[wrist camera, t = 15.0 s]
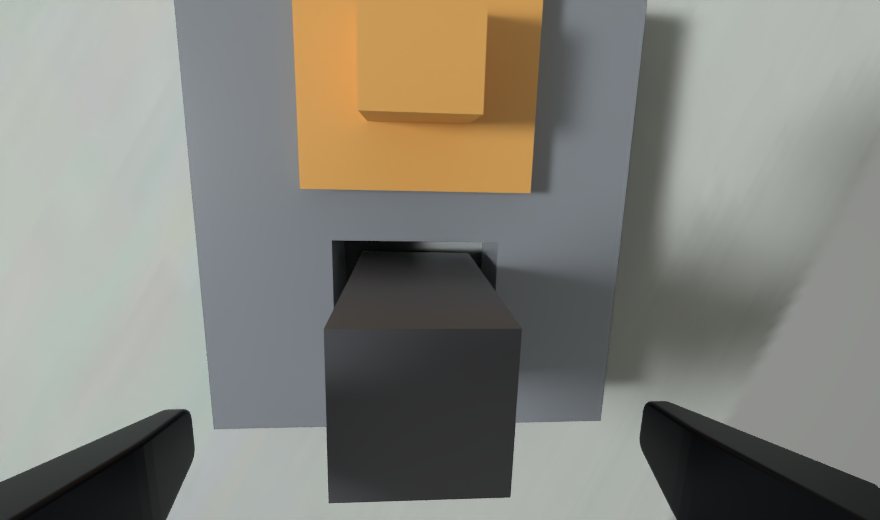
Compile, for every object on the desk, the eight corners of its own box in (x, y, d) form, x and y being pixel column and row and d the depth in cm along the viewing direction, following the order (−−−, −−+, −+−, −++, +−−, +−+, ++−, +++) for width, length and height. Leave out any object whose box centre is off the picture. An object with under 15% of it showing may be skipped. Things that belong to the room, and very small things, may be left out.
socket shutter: (523, 191, 14) (557, 199, 11) (305, 187, 14) (275, 194, 11) (538, -49, 13) (582, -119, 10) (295, -64, 12) (257, -144, 9)
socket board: (571, 382, 19) (600, 420, 16) (244, 386, 18) (213, 429, 15) (606, 10, 16) (649, -24, 13) (214, -11, 15) (168, -53, 12)
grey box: (464, 248, 18) (521, 328, 9) (461, 340, 19) (510, 497, 10) (365, 246, 17) (323, 328, 9) (365, 341, 18) (328, 502, 10)
